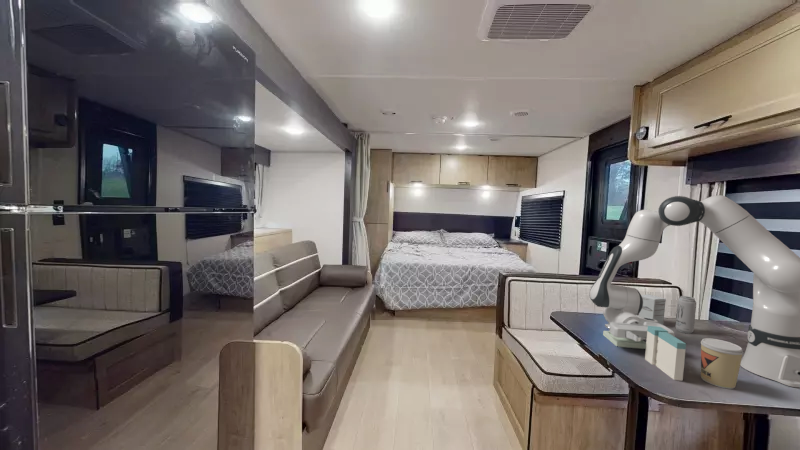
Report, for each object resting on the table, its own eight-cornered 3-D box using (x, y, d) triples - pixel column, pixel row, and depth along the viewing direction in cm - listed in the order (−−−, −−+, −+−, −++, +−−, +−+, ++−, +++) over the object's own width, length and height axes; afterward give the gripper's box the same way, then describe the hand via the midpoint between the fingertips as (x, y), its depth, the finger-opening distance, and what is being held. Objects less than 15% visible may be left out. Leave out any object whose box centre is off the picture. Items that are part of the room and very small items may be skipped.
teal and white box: (663, 366, 110) (666, 332, 109) (682, 380, 101) (686, 343, 100) (655, 365, 111) (658, 331, 110) (673, 379, 102) (677, 342, 101)
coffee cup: (691, 371, 107) (695, 335, 107) (728, 377, 104) (732, 341, 103) (706, 385, 99) (710, 347, 98) (746, 393, 95) (751, 353, 95)
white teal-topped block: (657, 360, 115) (660, 326, 114) (664, 365, 111) (668, 331, 110) (644, 359, 115) (647, 325, 114) (651, 364, 111) (654, 330, 110)
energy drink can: (671, 328, 146) (674, 295, 145) (685, 328, 146) (688, 295, 145) (682, 333, 140) (685, 299, 139) (697, 334, 140) (700, 299, 139)
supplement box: (636, 321, 154) (638, 294, 153) (647, 319, 156) (649, 293, 155) (652, 327, 147) (654, 299, 146) (664, 325, 149) (666, 298, 148)
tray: (632, 337, 134) (632, 332, 134) (648, 349, 123) (648, 344, 123) (603, 335, 136) (603, 330, 136) (616, 346, 125) (617, 341, 125)
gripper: (603, 316, 129) (621, 329, 116) (660, 320, 126) (686, 334, 113) (602, 331, 130) (620, 346, 116) (659, 336, 127) (684, 352, 113)
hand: (653, 340), depth 114 cm, fingers open, 8 cm apart
